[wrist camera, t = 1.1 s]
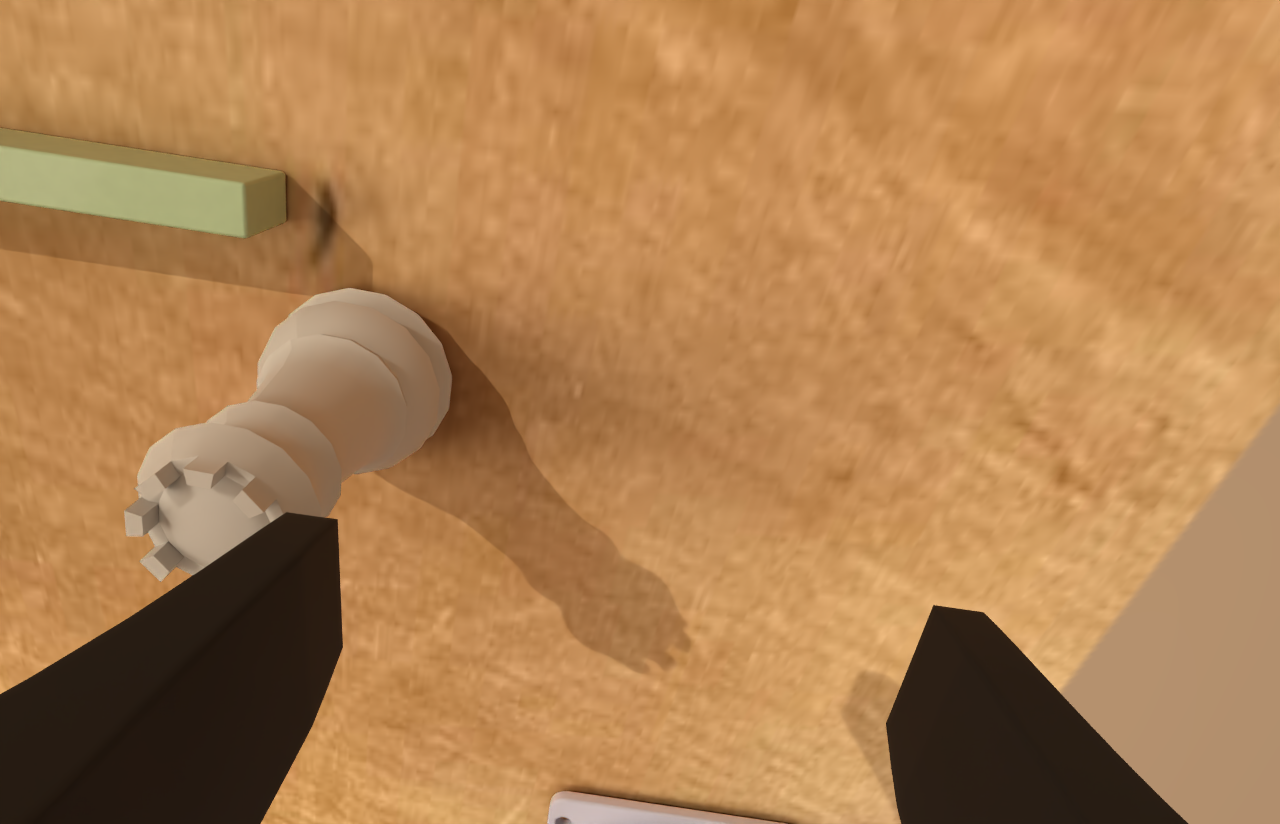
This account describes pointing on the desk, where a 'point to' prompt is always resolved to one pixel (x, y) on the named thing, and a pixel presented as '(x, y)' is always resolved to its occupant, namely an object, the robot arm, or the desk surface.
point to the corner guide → (139, 185)
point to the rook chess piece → (295, 429)
